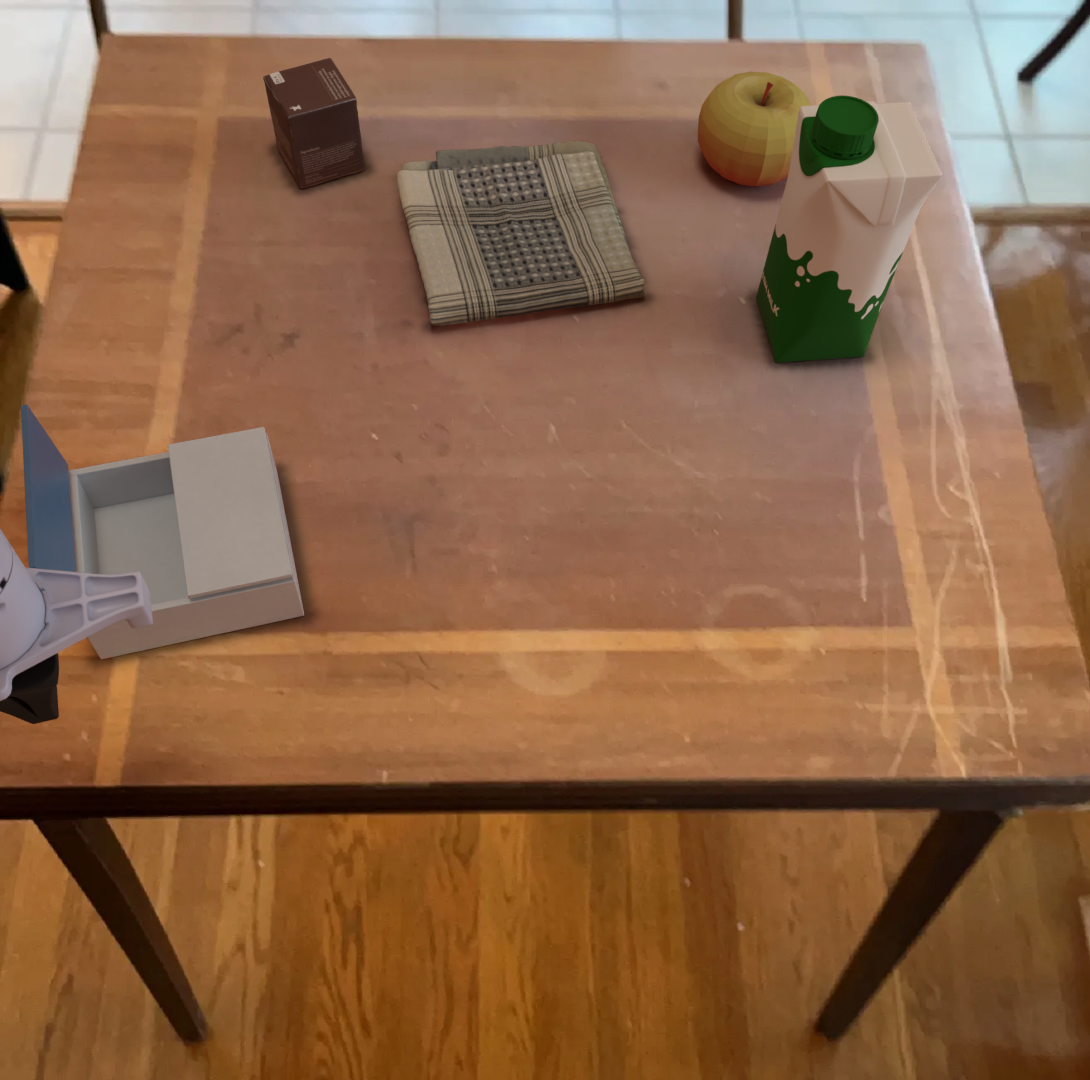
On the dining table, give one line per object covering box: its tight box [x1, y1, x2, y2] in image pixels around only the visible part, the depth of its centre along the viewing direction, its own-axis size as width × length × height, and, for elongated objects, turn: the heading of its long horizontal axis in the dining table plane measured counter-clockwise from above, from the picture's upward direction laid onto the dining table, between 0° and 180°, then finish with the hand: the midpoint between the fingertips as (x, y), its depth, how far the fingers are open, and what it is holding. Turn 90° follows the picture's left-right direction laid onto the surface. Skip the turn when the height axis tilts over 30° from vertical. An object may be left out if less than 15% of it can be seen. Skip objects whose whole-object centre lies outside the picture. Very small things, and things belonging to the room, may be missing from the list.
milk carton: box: [755, 95, 944, 364], centre depth 84 cm, size 9×9×20 cm
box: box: [262, 57, 366, 189], centre depth 98 cm, size 6×6×7 cm
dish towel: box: [396, 140, 646, 326], centre depth 95 cm, size 19×18×3 cm
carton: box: [68, 426, 305, 660], centre depth 77 cm, size 13×12×5 cm
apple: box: [697, 71, 812, 187], centre depth 99 cm, size 10×10×8 cm
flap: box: [20, 404, 76, 572], centre depth 71 cm, size 6×12×1 cm
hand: (44, 704), depth 62 cm, fingers closed
